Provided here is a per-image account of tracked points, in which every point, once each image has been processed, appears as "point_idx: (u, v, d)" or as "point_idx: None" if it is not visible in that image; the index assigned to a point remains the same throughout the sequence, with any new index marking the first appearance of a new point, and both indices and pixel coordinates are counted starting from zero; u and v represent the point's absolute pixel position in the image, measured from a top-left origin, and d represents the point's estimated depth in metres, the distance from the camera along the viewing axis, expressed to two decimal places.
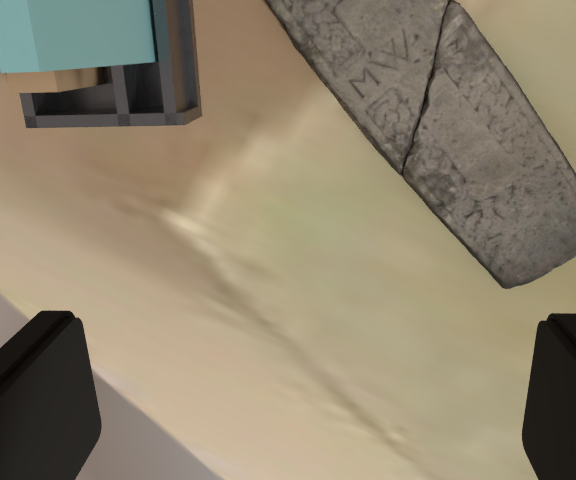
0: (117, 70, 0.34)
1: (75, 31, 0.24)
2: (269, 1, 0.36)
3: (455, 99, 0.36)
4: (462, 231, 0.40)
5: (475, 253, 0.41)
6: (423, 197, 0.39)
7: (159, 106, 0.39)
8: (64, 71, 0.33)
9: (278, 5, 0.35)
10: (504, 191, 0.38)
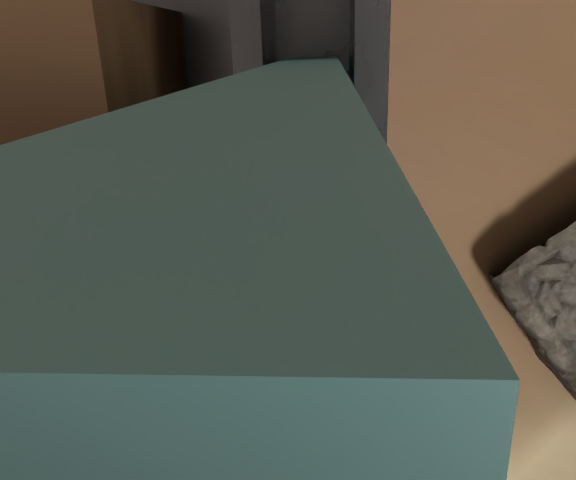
0: None
1: None
2: (512, 306, 0.20)
3: None
4: None
5: None
6: None
7: None
8: None
9: (531, 316, 0.20)
10: None
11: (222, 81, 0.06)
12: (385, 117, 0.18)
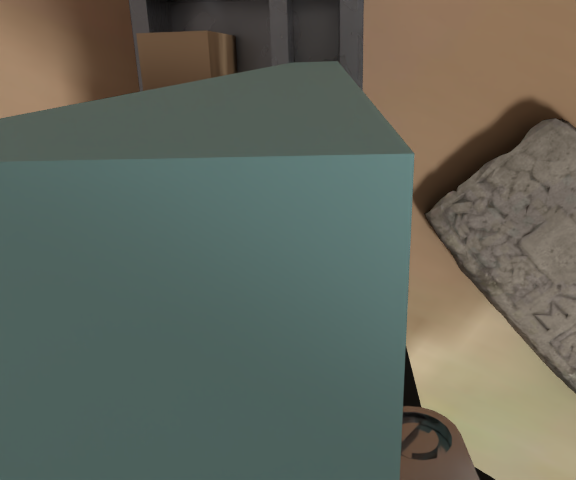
0: None
1: None
2: (439, 232, 0.31)
3: None
4: None
5: None
6: None
7: None
8: None
9: (450, 238, 0.31)
10: None
11: (231, 76, 0.07)
12: None
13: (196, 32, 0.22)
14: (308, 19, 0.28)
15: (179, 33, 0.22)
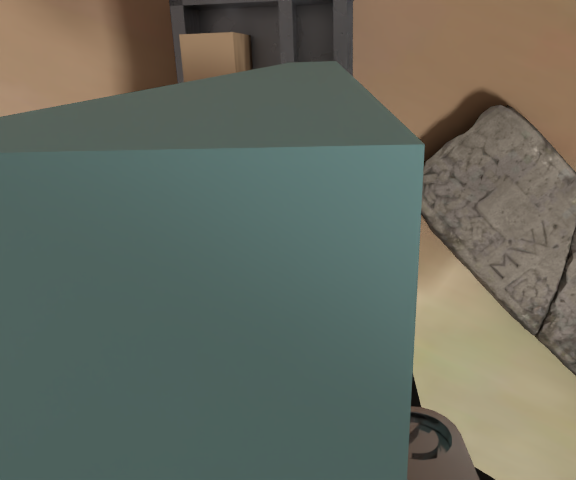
0: None
1: None
2: None
3: None
4: None
5: None
6: (558, 356, 0.42)
7: None
8: None
9: None
10: None
11: (233, 75, 0.07)
12: None
13: (224, 33, 0.29)
14: (309, 22, 0.35)
15: (211, 34, 0.29)
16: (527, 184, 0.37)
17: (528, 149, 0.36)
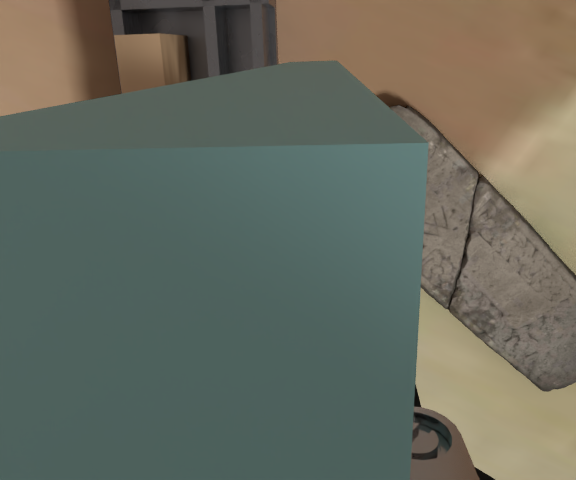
0: None
1: None
2: None
3: (489, 255, 0.43)
4: (503, 351, 0.47)
5: (515, 366, 0.48)
6: (468, 327, 0.47)
7: None
8: None
9: None
10: (537, 320, 0.45)
11: (234, 74, 0.07)
12: None
13: (152, 34, 0.34)
14: (237, 24, 0.40)
15: (141, 35, 0.34)
16: None
17: None
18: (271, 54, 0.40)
